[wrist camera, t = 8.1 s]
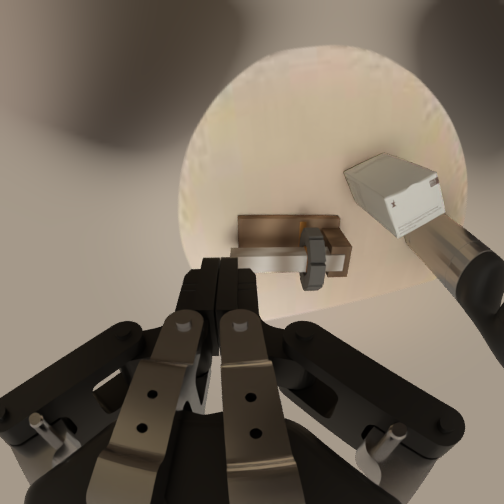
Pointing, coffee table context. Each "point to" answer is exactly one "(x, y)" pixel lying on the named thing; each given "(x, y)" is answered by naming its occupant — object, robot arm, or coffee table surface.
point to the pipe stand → (289, 243)
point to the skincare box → (396, 192)
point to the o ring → (313, 259)
